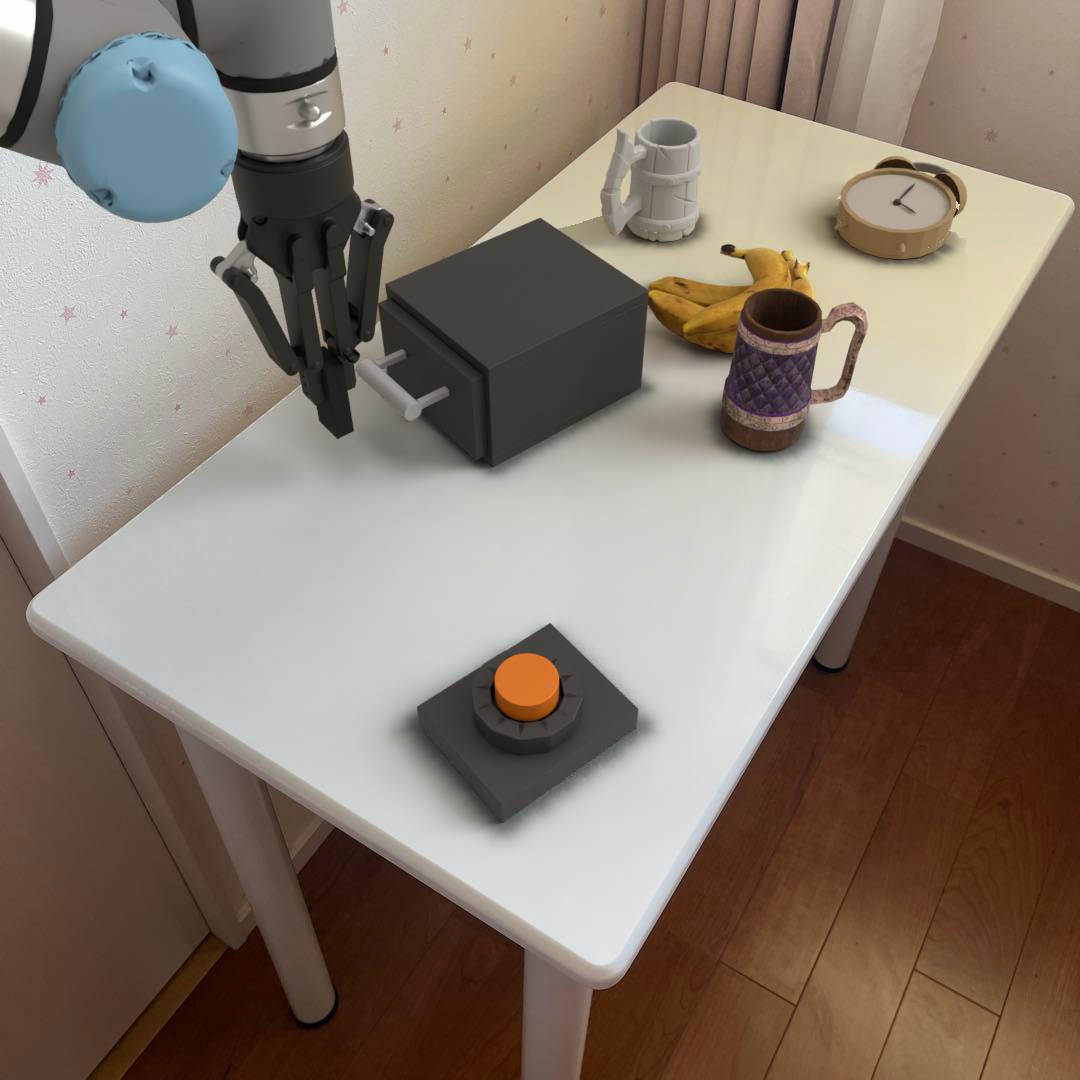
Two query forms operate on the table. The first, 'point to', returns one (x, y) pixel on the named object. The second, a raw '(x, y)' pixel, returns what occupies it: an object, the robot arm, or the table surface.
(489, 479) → the table surface
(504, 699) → the button
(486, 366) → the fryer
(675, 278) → the banana
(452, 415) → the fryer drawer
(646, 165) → the mug
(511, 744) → the control block
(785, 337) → the mug
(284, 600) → the table surface
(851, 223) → the alarm clock
